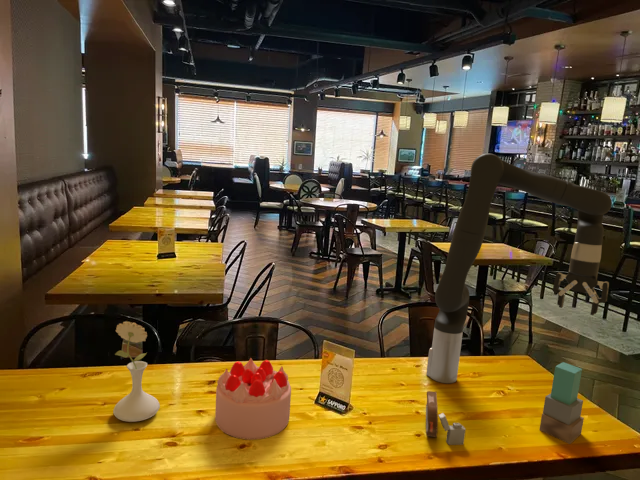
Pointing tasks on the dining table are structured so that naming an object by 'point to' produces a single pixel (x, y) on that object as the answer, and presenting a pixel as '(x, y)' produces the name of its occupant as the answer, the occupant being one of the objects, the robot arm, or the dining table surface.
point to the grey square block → (562, 410)
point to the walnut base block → (561, 428)
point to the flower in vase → (135, 380)
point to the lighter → (453, 431)
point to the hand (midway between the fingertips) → (576, 310)
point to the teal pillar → (566, 383)
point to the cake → (252, 401)
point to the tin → (431, 414)
